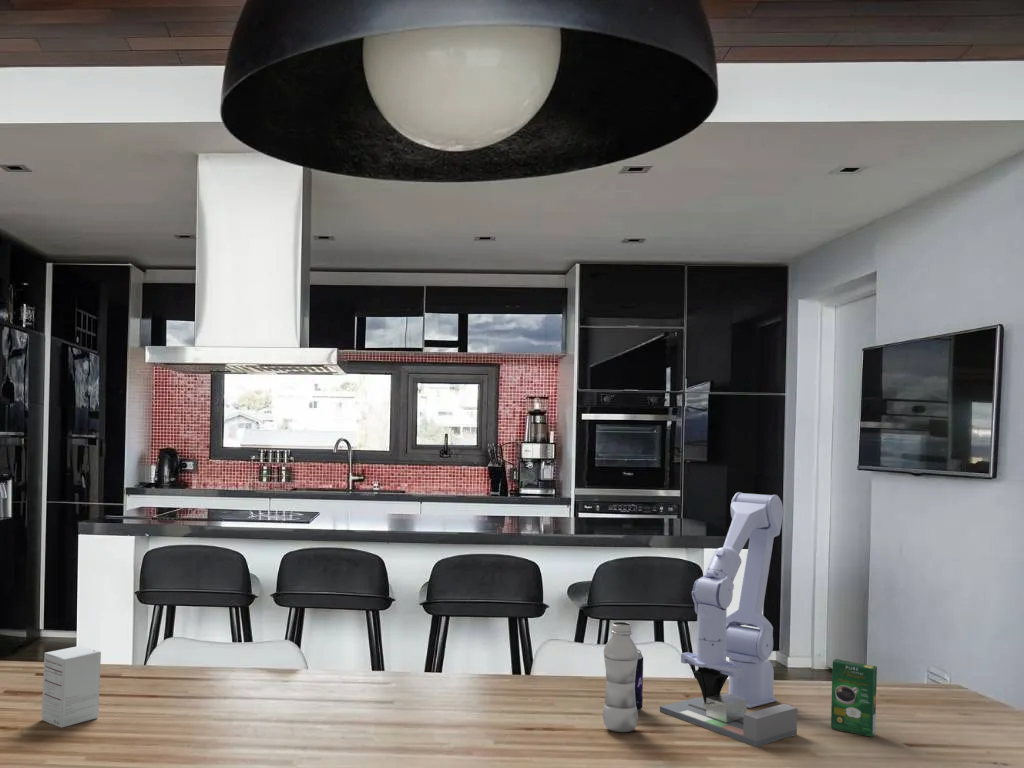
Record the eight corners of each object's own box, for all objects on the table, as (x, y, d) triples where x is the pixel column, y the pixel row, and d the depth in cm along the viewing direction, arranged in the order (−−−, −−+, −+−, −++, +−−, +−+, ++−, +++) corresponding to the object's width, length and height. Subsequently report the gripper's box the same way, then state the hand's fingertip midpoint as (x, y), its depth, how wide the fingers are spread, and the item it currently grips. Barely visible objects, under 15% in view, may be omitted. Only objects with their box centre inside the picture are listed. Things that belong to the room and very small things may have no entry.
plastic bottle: (633, 738, 163) (635, 628, 164) (598, 733, 165) (600, 625, 166) (641, 727, 169) (642, 622, 170) (606, 722, 171) (608, 618, 172)
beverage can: (641, 715, 176) (642, 655, 177) (613, 713, 177) (614, 652, 178) (643, 707, 182) (644, 648, 182) (615, 705, 183) (616, 646, 183)
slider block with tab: (726, 710, 177) (726, 692, 177) (746, 717, 173) (746, 699, 173) (694, 718, 171) (694, 700, 171) (714, 726, 167) (714, 707, 167)
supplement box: (78, 710, 171) (81, 644, 172) (99, 718, 167) (102, 650, 167) (39, 720, 165) (43, 651, 166) (60, 728, 161) (63, 658, 161)
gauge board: (699, 701, 186) (699, 677, 187) (796, 734, 167) (796, 707, 167) (659, 711, 179) (660, 686, 179) (756, 746, 160) (756, 718, 160)
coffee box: (877, 734, 168) (877, 664, 169) (874, 738, 166) (874, 667, 167) (834, 725, 173) (834, 657, 174) (830, 729, 171) (830, 660, 172)
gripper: (671, 633, 180) (670, 700, 180) (727, 648, 169) (726, 720, 168) (694, 629, 185) (693, 695, 184) (750, 643, 173) (750, 714, 172)
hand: (710, 707), depth 176 cm, fingers closed
